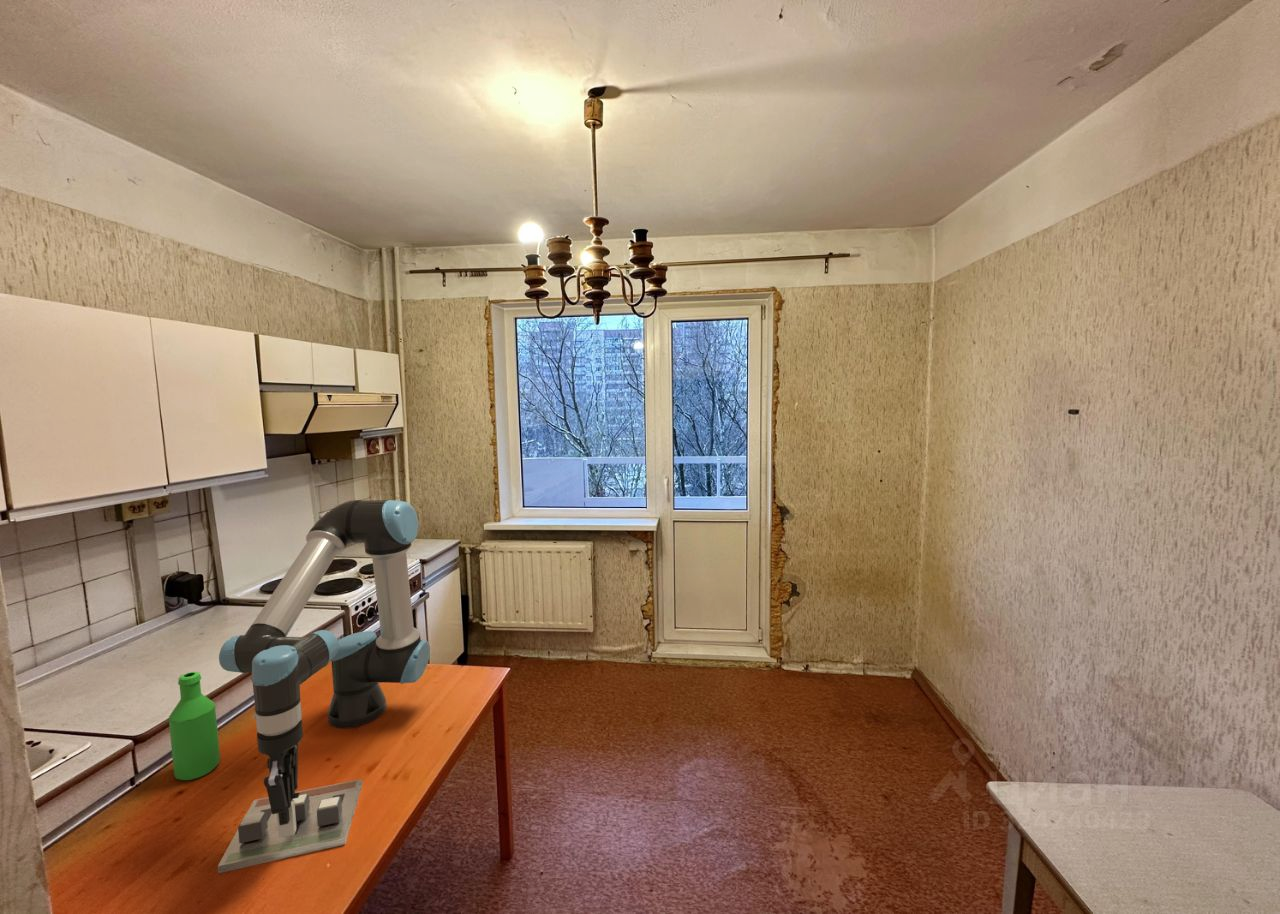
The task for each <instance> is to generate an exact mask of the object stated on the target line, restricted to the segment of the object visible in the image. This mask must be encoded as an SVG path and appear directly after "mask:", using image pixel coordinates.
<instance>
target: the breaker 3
mask: <svg viewBox="0 0 1280 914" xmlns="http://www.w3.org/2000/svg"><path fill="white" fill-rule="evenodd" d="M341 814H342V799H341V797H334V798H329V799H324V800H321V801H320V804H319V807H318V809H317V823H318V826H323V825H328V824H332V823H337V822H339V820H340V817H341Z"/></svg>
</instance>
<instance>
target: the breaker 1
mask: <svg viewBox="0 0 1280 914" xmlns="http://www.w3.org/2000/svg"><path fill="white" fill-rule="evenodd" d="M267 828H268V824H267V812H260V813H255V814H250V815H246V814H245V815H244V816H243V818H242V820H241V821H240V824H239V825H238V827H237V830H238V833H239V843H244V842H248V841H253V840H258V839H262V838H263V836H264V834H265V832H266V830H267Z"/></svg>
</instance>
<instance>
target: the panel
mask: <svg viewBox="0 0 1280 914" xmlns="http://www.w3.org/2000/svg"><path fill="white" fill-rule="evenodd" d="M362 786H363V779H362V778H361V779H355V780H349V781H345V782H339V783H334V784H330V785H325V786H318V787H315V788H309V789H303V790H298V791H295V793H299V795H304V794H307V795H308V794H309V805H310V810H309V812H308V815H307V817H306V819H305V820H300V821H296V832H295V834H294V835H290V836H286V837H281V838H279V832H278V819H277V814H272V812H271V806H270V802H269V797H268V796H267V797H263V798H256V799H253V802H252V803H251V804H250V807H249V808H248V810H247V812H246V814H245V815H250V814H255V813H260V812H267V824H268V828H267V830H266V832H265V834H264V836H263V838H262V839H258V840H253V841H248V842H244V843H239V833H238V829H237V830H236V832H235V833H234V835H233V837H232V839H231V841H230V842H229V844H228V847H227V848H226V850H225V852H224V854H223V856H222V857H221V860H220V862H219V863H218V865H217V874H222V873H225V872H230V871H234V870H238V869H243V868H248V867H253V866H257V865H260V864H265V863H270V862H275V861H278V860H283V859H287V858H291V857H297V856H301V855H302V856H303V855H305V854H309V853H313V852H314V853H315V852H319V851H325V850H327V849H332V848H336V847H341V846H346V842H347V840H348V836H349V832H350V830H351V825H352V823H353V818H354V815H355V811H356V808H357V805H358V801H359V798H360V794H361V791H362ZM334 797H341V799H342V814H341V817H340V820H339V822H337V823H332V824H328V825H323V826H318V823H317V809H318V807H319V804H320V801H321V800H324V799H329V798H334Z"/></svg>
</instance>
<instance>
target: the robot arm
mask: <svg viewBox="0 0 1280 914" xmlns="http://www.w3.org/2000/svg"><path fill="white" fill-rule="evenodd" d="M417 515H418V514H417V511H416V510H415V509H414V507H413V506H412V505H411V504H410V503H409V502H407V501H404V500H402V501H401V500H395V499H394V500H392V499H390V500H388V499H386V500H385V499H384V500H383V499H381V500H379V499H378V500H372V499H371V500H369V499H368V500H367V499H366V500H361V499H355V500H348V501H345V502H343V503H341V504H338V505H336V506H335V507H333V508H332V509H330V510H329V511H327V512H326V513H325V514H324V515H322V516H321V517H320V518H319V519H318V520H317V521H316V523H315V524H314V525H313V526H312V527H311V528H310V530H309V531H308V533H307V534H306V535H305V541H306V543H305V545H304V546H303V548H302V549H301V551H300V552H299V554H298V555H297V556H296V558H295V560H294V561H293V563H292V564H291V566H290V567H289V569H288V570H287V571H286V572H285V575H284V576H283V578H282V579H281V581H280V582H279V584H278V585H277V587H276V588H275V589H274V591H273V592H272V594H271V596H269V598H268V599H267V601H266V603H265V604H264V606H263V608H262V609H261V610H260V611H259V614H258V615H257V616H256V618H255V619H254V621H253V622H252V623H251V626H250V627H248V630H247V631H246V632H245V633H244V634H239V635H234V636H232V637H230V638H229V639H227V640H226V641H225V642H224V643H223V645H221V648H220V651H219V654H218V662H219V665H220V667H221V668H222V670H224V671H227V672H232V673H241V674H246V673H247V674H248V673H249V674H250V673H251V675H250V680H251V683H252V689H253V691H252V692H253V700H254V713H253V714H252V718H253V719H255V721H256V722H255V725H256V732H257V733H256V742H257V750H258V752H259V753H260V754H262V755H265V756H267V757H268V759H267V761H266V763H267V768H268V771H269V776H267V777H264V779H263V785H264V786H265V788H266V791H267V797H269V802H270V806H271V812H272V814H277V819H278V832H279V838H281V837H286V836H290V835H294V834H295V832H296V815H295V802H294V800H293V799H295V798H298V797H299V793H295V792H296V791H297V789H298V766H299V765H298V764H299V763H298V762H299V761H298V759H299V758H298V757H299V755H298V753H299V752H298V751H299V744H300V742H301V740H302V739H303V737H304V733H303V720H302V718H303V715H302V714H303V712H302V702H301V701H302V700H301V692H300V691H301V687H300V686H301V685H302V684H303V683H305V682H306V681H307V680H308V679H309V678H311V677H313V675H315V674H317V673H318V672H319V671H321V670H322V669H323V668H324V667H327V666H328V664H329V663H330V662H331V674H332V675H331V677H332V686H333V687H332V688H333V689H332V690H333V691H332V692H333V694H332V697H331V700H330V703H329V707H328V711H327V721H328V724H329V725H330V726H331V727H333V728H338V729H349V728H350V729H351V728H355V727H360V726H363V725H366V724H369V723H371V722H372V721H374V720H376V719H378V718H379V717H381V715H383V714H384V713H385V711H386V710H387V709H386V708H387V699H386V696H385V694H384V692H383V690H382V687H381V685H380V683H387V684H388V683H389V684H390V683H391V684H392V683H395V684H397V683H398V684H402V685H403V684H412V683H413V684H414V683H416V682H418V681H419V680H420V679H421V677H422V676H423V675H424V673H425V671H426V668H427V666H428V663H429V660H430V655H431V644H430V642H428V640H425V639H421V631H420V630H419V629H418V628H416V627H414V617H413V606H412V598H411V597H412V596H411V587H410V578H409V575H410V574H409V568H408V566H409V565H408V556H407V552H408V550H409V549H410V548H411V547H412V543H413V542H415V540H416V538H417V536H418V532H419V531H418V530H419V520H418V516H417ZM355 543H356V544H359V543H360V544H364V551H365V552H364V553H365V554H366V555H368V556H370V557H371V558H372V567H373V575H374V576H373V577H374V586H375V593H376V600H377V601H376V602H377V609H378V610H377V612H378V619H379V627H380V635H379V636H377V633H376V632H374V631H371V630H370V631H369V630H367V631H366V630H364V631H360V632H355V633H352V634H349V635H346V636H343V637H342V638H340V639H339V640H338V638H337V636H336V635H335V634H334V633H332V632H331V631H329V630H325V629H320V630H317V631H315V632H311V633H310V634H308V635H307V636H288V634H289V632H290V631H291V630H292V628H293V626H294V625H295V623H296V622H297V620H298V618H299V616H301V613H302V611H303V610H304V609H305V606H306V605H307V603H308V602H309V601H310V598H311V597H312V595H313V594H314V592H315V591H316V588H317V587H318V586H319V584H320V582H321V580H322V579H323V578H324V576H325V574H326V572H327V570H328V569H329V567H330V566H331V565H332V563H333V560H334V559H335V557H336V556H338V555H340V554H342V553H343V552H344V551H345V549H346V548H347V546H348V545H350V544H355Z"/></svg>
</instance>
